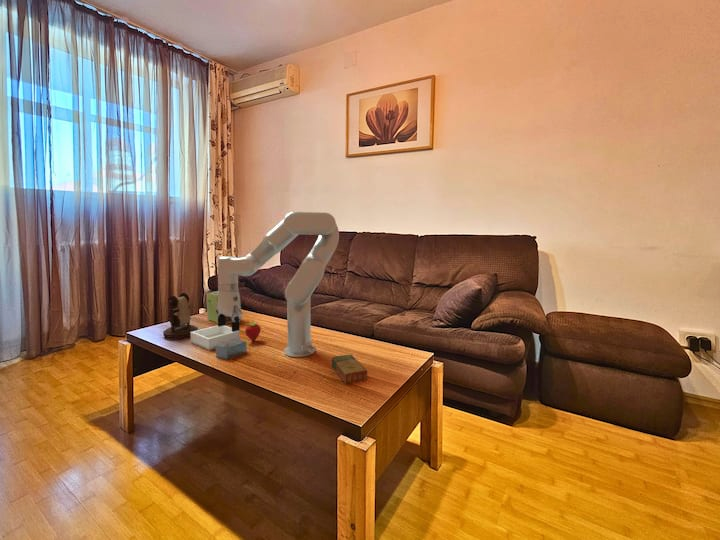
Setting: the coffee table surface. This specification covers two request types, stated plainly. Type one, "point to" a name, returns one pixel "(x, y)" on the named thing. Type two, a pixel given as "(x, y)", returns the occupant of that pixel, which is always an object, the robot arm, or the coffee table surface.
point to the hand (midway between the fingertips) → (228, 328)
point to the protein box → (211, 309)
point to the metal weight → (231, 349)
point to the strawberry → (253, 331)
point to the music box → (180, 323)
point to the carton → (349, 369)
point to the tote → (213, 336)
